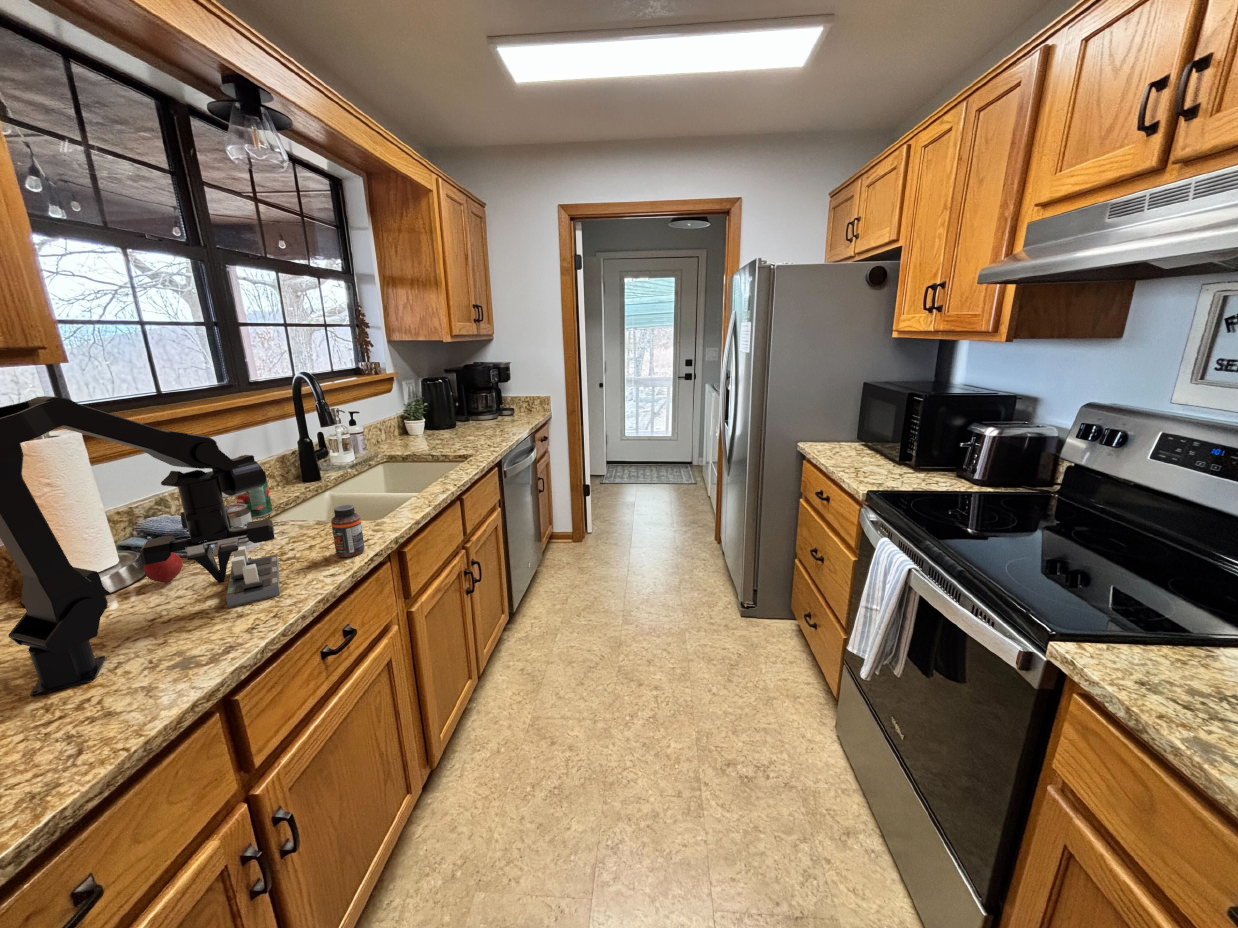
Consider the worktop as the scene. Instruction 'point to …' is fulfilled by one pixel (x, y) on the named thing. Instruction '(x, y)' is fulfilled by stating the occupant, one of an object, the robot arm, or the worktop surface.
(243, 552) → the far breaker handle
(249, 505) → the canned tomato
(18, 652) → the worktop surface
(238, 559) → the handle
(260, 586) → the breaker panel
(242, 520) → the french press
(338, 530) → the supplement bottle
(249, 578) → the breaker handle
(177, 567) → the onion
